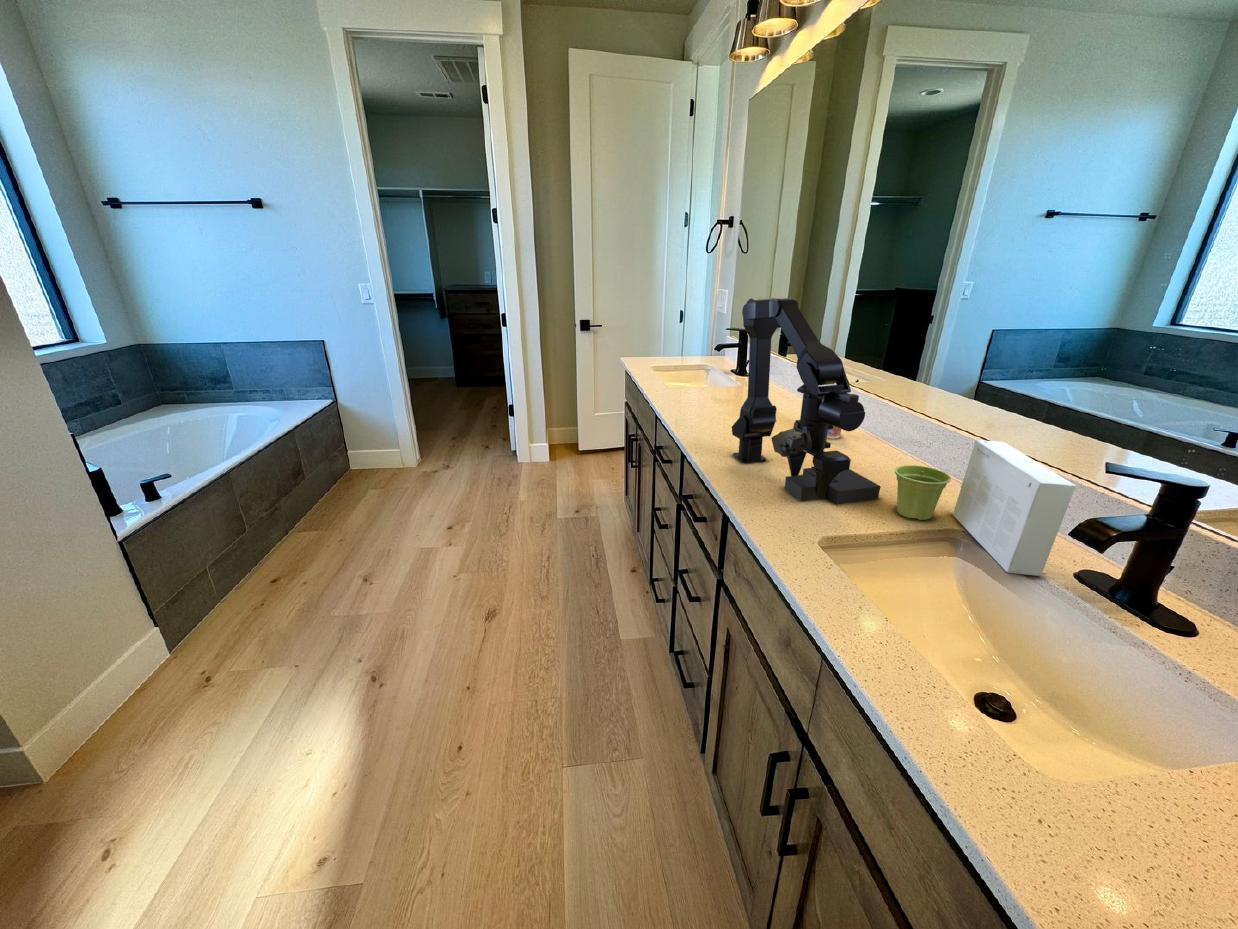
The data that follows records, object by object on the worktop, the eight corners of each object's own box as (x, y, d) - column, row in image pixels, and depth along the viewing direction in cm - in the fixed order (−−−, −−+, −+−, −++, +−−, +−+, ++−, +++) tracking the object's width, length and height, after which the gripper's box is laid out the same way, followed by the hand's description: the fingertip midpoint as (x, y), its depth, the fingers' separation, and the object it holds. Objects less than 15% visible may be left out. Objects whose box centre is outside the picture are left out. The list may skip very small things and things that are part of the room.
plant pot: (876, 508, 100) (884, 469, 97) (908, 500, 104) (917, 461, 101) (918, 528, 92) (928, 486, 89) (952, 518, 96) (962, 477, 93)
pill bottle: (813, 435, 145) (818, 398, 141) (825, 431, 149) (830, 395, 145) (832, 440, 140) (838, 402, 136) (844, 436, 144) (850, 399, 140)
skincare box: (1046, 578, 77) (1078, 485, 71) (1006, 574, 78) (1036, 483, 72) (982, 516, 96) (1004, 439, 91) (951, 514, 97) (971, 438, 92)
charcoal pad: (801, 480, 114) (803, 468, 113) (839, 476, 116) (841, 464, 115) (836, 504, 102) (838, 491, 101) (878, 499, 104) (880, 486, 103)
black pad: (784, 488, 110) (785, 476, 109) (820, 484, 112) (821, 472, 111) (800, 501, 104) (802, 488, 103) (837, 496, 106) (840, 483, 105)
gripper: (757, 409, 108) (751, 474, 114) (805, 434, 91) (795, 509, 97) (803, 405, 111) (795, 469, 116) (858, 429, 94) (845, 503, 99)
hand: (805, 486), depth 107 cm, fingers open, 9 cm apart
